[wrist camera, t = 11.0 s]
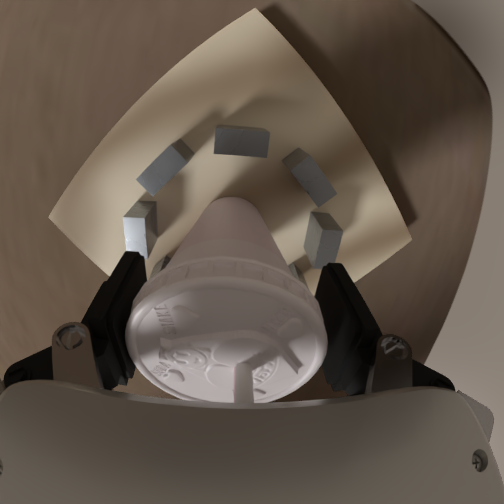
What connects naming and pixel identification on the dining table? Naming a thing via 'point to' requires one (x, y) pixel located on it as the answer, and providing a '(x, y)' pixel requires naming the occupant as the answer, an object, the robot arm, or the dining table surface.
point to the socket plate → (235, 158)
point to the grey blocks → (241, 144)
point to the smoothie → (227, 315)
